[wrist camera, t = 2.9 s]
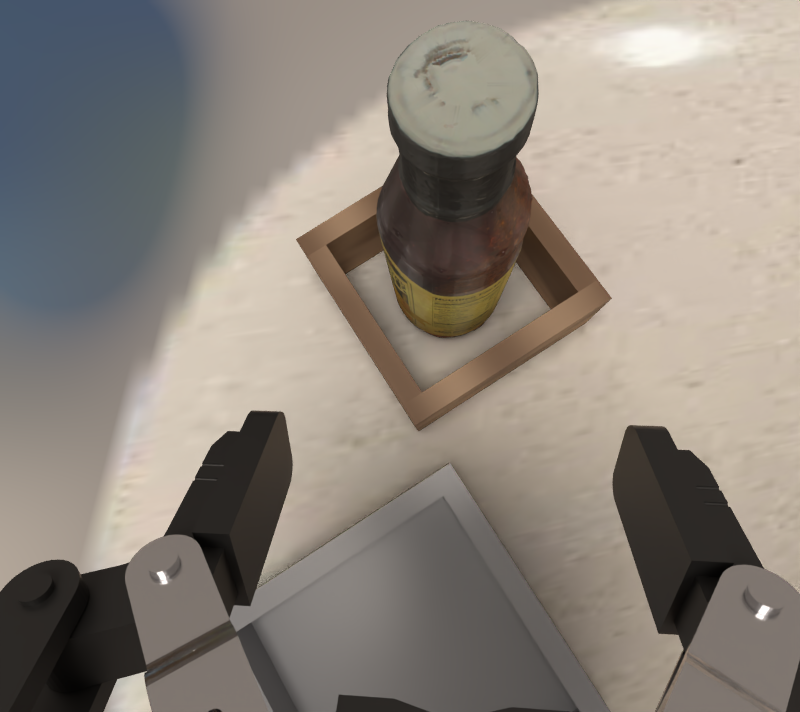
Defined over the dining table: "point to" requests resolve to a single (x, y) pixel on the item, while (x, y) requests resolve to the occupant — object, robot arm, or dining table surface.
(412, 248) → the sauce bottle
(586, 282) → the bottle holder
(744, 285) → the dining table surface
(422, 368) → the dining table surface
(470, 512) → the tray
